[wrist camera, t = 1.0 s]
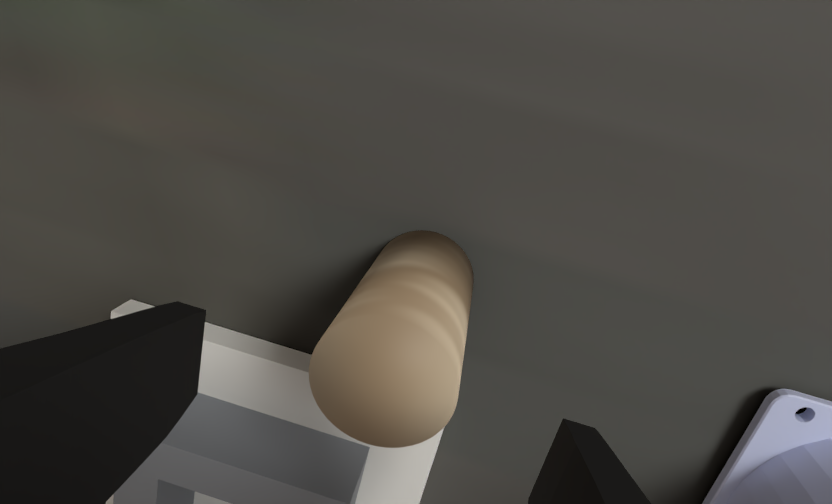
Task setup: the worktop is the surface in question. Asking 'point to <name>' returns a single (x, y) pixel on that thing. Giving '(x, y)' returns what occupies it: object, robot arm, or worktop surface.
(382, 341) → the peg
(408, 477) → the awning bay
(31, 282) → the worktop surface
